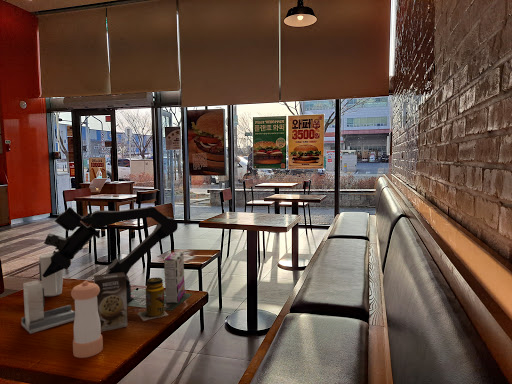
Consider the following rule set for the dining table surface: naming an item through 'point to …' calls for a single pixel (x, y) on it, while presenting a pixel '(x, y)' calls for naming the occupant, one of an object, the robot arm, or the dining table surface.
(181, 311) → the dining table surface
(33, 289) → the grey and white holder
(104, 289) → the coffee box
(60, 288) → the cup
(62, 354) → the dining table surface
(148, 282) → the condiment
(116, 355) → the dining table surface
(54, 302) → the dining table surface
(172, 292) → the candy bar box
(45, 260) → the finger
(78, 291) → the pepper shaker
